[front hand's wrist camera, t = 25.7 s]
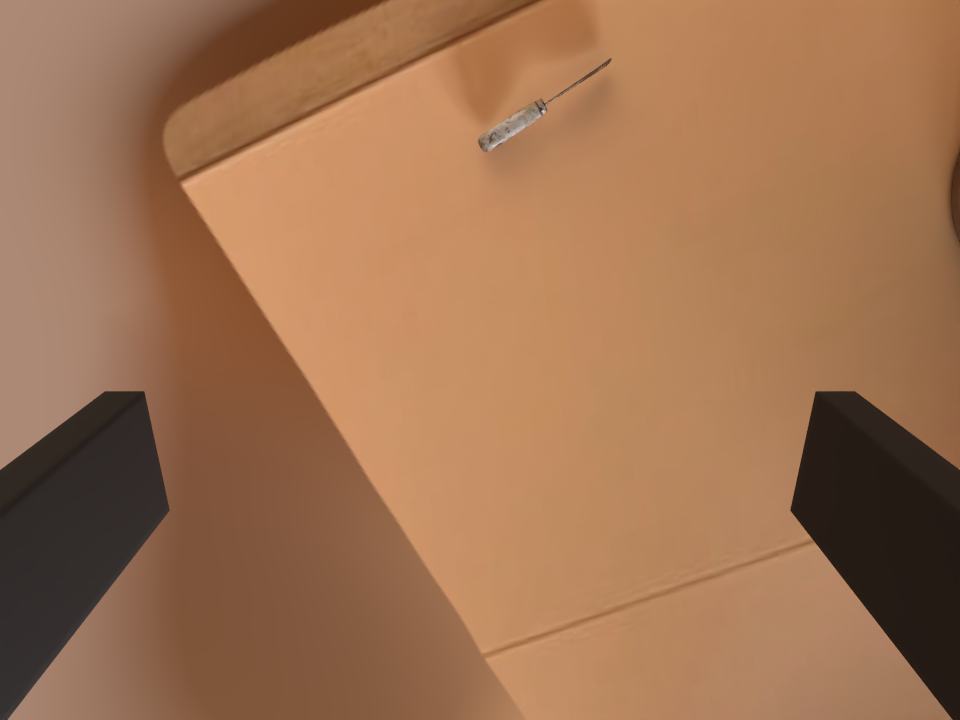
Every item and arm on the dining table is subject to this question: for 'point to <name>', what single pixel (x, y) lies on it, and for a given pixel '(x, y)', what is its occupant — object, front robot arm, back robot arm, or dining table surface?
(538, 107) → the putty knife
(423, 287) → the dining table surface
